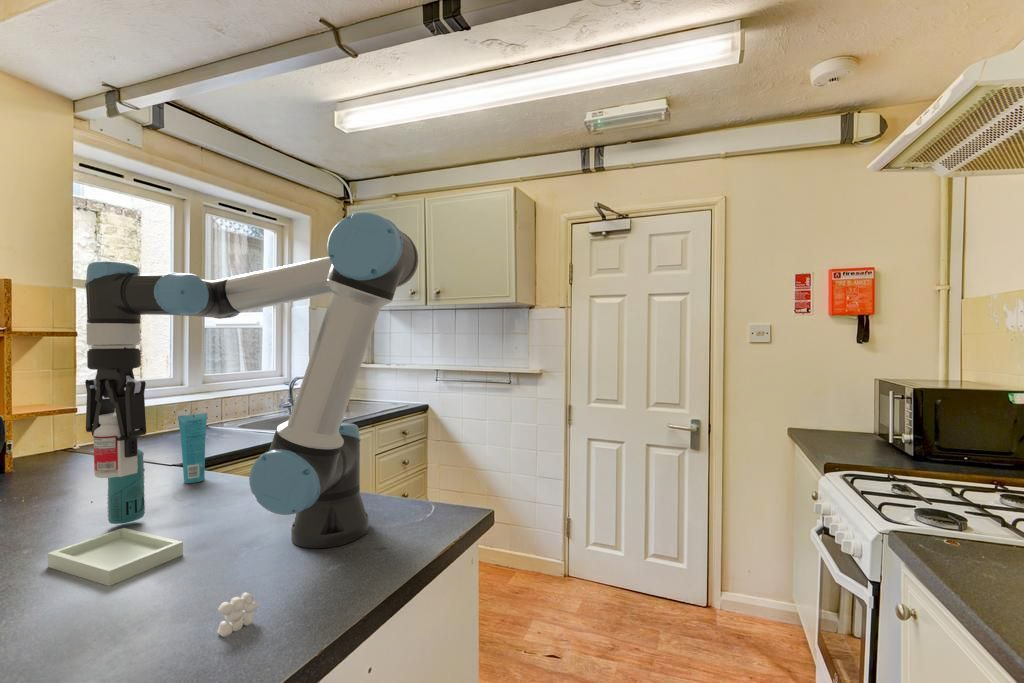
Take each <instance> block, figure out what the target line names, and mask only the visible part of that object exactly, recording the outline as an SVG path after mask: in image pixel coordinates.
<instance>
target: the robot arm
mask: <svg viewBox="0 0 1024 683" xmlns="http://www.w3.org/2000/svg"><path fill="white" fill-rule="evenodd" d="M326 247H327V255H328V256H325V257H319V258H315V259H310V260H306V261H301V262H296V263H292V264H288V265H283V266H282V265H281V266H277V267H272V268H267V269H264V270H263V269H262V270H258V271H253V272H249V273H248V272H247V273H243V274H239V275H234V276H230V277H225V278H220V279H216V280H215V279H214V280H210V279H209V280H206V279H202V278H200V276H198V275H197V274H194V273H185V272H184V273H183V272H179V271H178V272H175V271H174V272H169V273H168V272H167V273H165V272H164V273H140V270H141V269H140V268H139V266H138V265H137V264H134V263H130V262H121V261H107V260H106V261H105V260H99V261H97V260H95V261H93V262H90V263H88V265H87V267H86V279H85V280H86V281H85V284H84V285H85V293H86V345H87V346H90V348H89V349H88V350H87V351H86V353H87V354H86V355H87V356H86V358H87V359H86V360H87V361H86V362H87V363H86V364H87V368H88V369H89V370H91V371H92V370H94V371H95V370H96V375H95V378H93V379H86V380H85V389H86V408H85V409H86V412H85V413H86V415H85V432H86V433H91V436H92V437H93V436H94V431H95V430H96V429H97V428H99V427H100V426H101V424H99V416H100V415H103V414H109V413H116V416H117V421H118V426H119V430H120V435H121V437H119V438H116V439H117V441H118V477H122V476H126V475H130V474H134V473H137V444H138V442H137V441H138V438H140V437H141V436H145V435H146V434H147V423H146V422H147V417H146V405H145V404H146V402H145V390H146V385H147V384H146V381H145V380H137V379H135V375H134V371H133V370H134V369H137V368H140V367H141V365H142V363H141V361H142V360H141V358H142V356H141V351H142V350H140V348H139V347H137V346H139V345H140V344H141V333H142V330H141V315H142V316H145V315H150V316H151V315H152V316H153V315H154V316H156V315H157V316H160V315H161V316H163V315H164V316H179V317H180V316H185V317H202V318H213V319H214V318H215V319H221V320H222V319H230V318H234V317H236V316H238V315H239V314H241V313H243V312H248V311H253V310H257V309H263V308H268V307H273V306H279V305H282V304H289V303H292V302H293V303H294V302H298V301H304V300H308V299H312V298H317V297H322V296H323V297H324V296H327V295H330V298H329V301H328V305H327V307H326V310H325V313H324V317H323V318H322V322H321V325H320V328H319V331H318V335H317V336H316V339H315V342H314V346H313V349H312V352H311V355H310V358H309V360H308V364H307V367H306V369H305V373H304V376H303V379H302V382H301V384H300V388H299V390H298V394H297V397H296V399H295V402H294V405H293V407H292V411H291V414H290V417H289V419H288V420H286V421H284V422H282V423H280V424H278V425H277V427H276V429H275V432H274V435H273V438H272V441H271V444H270V447H269V450H268V451H265V452H264V453H262V454H260V456H259V457H258V458H257V459H256V460H255V462H254V463H253V464H252V466H251V468H250V472H249V477H248V481H249V488H250V491H251V494H252V495H254V497H255V499H256V501H257V503H258V504H259V505H260V506H261V507H262V508H264V509H265V510H267V511H269V512H270V513H273V514H276V515H280V516H292V515H295V517H294V522H293V523H292V526H291V529H290V530H291V535H290V536H291V543H292V544H294V545H296V546H298V547H302V548H306V549H323V548H324V549H325V548H332V547H333V548H334V547H339V546H342V545H345V544H349V543H352V542H354V541H356V540H359V539H360V538H362V537H363V536H364V535H366V534H367V532H368V531H369V529H370V528H369V527H370V525H369V521H370V520H369V519H370V518H369V515H368V513H367V512H366V509H365V506H364V505H365V504H364V502H363V499H362V495H361V488H360V486H361V484H360V482H361V478H360V477H361V473H360V472H361V471H360V470H361V468H360V467H361V460H360V459H361V456H360V455H361V451H360V450H361V449H360V448H361V445H360V444H361V437H360V429H359V426H358V425H357V424H354V423H348V422H343V419H344V417H345V413H346V411H347V408H348V404H349V402H350V399H351V396H352V393H353V391H354V386H355V384H356V382H357V377H358V375H359V372H360V370H361V366H362V364H363V361H364V358H365V355H366V351H367V350H368V349H367V348H368V346H369V342H370V340H371V337H372V334H373V330H374V328H375V325H376V322H377V319H378V316H379V314H380V311H381V309H382V308H383V307H385V306H387V305H389V304H391V303H392V302H393V299H394V296H395V293H396V290H397V288H398V287H402V286H403V285H405V284H407V283H408V282H409V281H411V279H412V278H413V277H414V276H415V274H416V272H417V269H418V266H419V254H418V249H417V246H416V245H415V244H414V241H413V240H412V239H411V237H410V236H408V235H407V234H406V233H404V232H403V231H402V230H400V229H399V228H398V226H397V225H396V224H395V223H394V222H392V221H391V220H389V219H387V218H385V217H383V216H381V215H378V214H376V213H373V212H364V211H362V212H355V213H353V214H350V215H348V216H345V217H343V218H342V219H341V220H339V222H337V223H336V224H335V226H334V227H333V228H332V229H331V231H330V234H329V236H328V239H327V246H326Z"/></svg>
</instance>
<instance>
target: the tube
mask: <svg viewBox="0 0 1024 683" xmlns="http://www.w3.org/2000/svg"><path fill="white" fill-rule="evenodd" d="M177 419H178V420H177V421H178V427H179V434H180V437H179V438H180V445H181V455H182V457H181V458H182V459H181V460H182V470H183V483H185V484H193V483H194V484H196V483H199V482H202V481H204V480H205V477H206V476H205V474H206V467H205V463H206V437H207V436H206V434H207V433H206V432H207V419H208V412H202V413H196V414H195V413H194V414H186V415H178V416H177Z"/></svg>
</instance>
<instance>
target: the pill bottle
mask: <svg viewBox="0 0 1024 683" xmlns="http://www.w3.org/2000/svg"><path fill="white" fill-rule="evenodd" d="M99 424H101V426H100V427H99V428H97V429H96V430H95V431H94V436H92V437H93V465H94V466H93V467H94V468H93V471H94V473H93V474H94V477H96V478H98V479H108V478H112V477H118V441H117V439H116V438H119V437H121V435H120V430H119V426H118V421H117V416H116V412H114V413H109V414H103V415H100V416H99ZM138 449H139V448H138V440H137V469H138Z"/></svg>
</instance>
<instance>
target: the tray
mask: <svg viewBox="0 0 1024 683" xmlns="http://www.w3.org/2000/svg"><path fill="white" fill-rule="evenodd" d="M181 556H184V541H181V540H176V539H174V538H168V537H164V536H160V535H156V534H151V533H148V532H142V531H138V530H134V529H130V528H125V527H122V528H119V529H115V530H112V531H110V532H107V533H104V534H101V535H97V536H95V537H92V538H89V539H85V540H83V541H80V542H76V543H74V544H71V545H69V546H68V545H67V546H65V547H61V548H59V549H56V550H52V551H49V552H48V553H47V568H50V569H53V570H56V571H60V572H63V573H65V574H69V575H71V576H72V575H73V576H76V577H79V578H82V579H85V580H88V581H92V582H95V583H98V584H101V585H104V586H108V587H110V586H113V585H116V584H118V583H120V582H123V581H125V580H127V579H130V578H132V577H135V576H137V575H139V574H141V573H144V572H146V571H149V570H151V569H153V568H155V567H158V566H160V565H163V564H164V563H167V562H170V561H172V560H174V559H177V558H179V557H181Z"/></svg>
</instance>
